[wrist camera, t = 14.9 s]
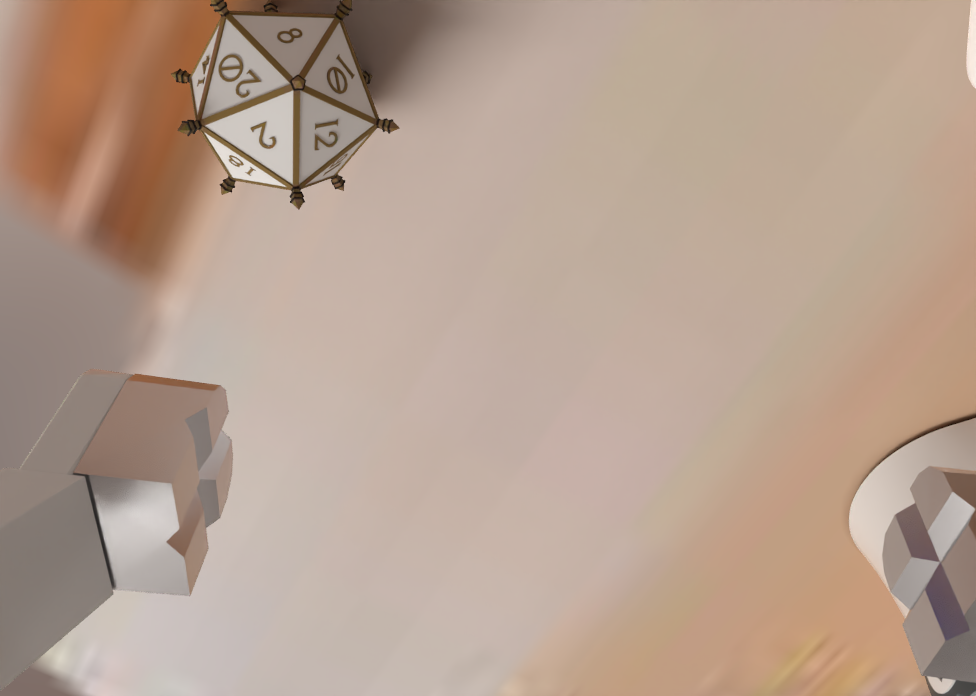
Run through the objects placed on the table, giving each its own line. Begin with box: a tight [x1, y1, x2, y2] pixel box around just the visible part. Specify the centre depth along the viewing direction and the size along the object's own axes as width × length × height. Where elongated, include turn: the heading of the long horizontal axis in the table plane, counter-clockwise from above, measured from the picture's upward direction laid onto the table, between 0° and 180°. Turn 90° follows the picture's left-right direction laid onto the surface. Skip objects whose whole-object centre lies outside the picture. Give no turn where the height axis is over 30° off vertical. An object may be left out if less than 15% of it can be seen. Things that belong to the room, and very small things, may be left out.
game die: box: [171, 0, 399, 209], centre depth 37 cm, size 9×8×10 cm
